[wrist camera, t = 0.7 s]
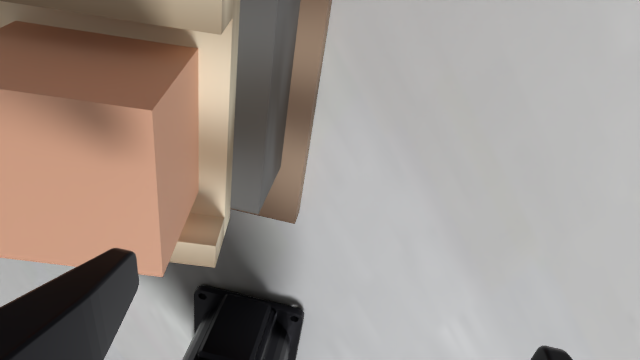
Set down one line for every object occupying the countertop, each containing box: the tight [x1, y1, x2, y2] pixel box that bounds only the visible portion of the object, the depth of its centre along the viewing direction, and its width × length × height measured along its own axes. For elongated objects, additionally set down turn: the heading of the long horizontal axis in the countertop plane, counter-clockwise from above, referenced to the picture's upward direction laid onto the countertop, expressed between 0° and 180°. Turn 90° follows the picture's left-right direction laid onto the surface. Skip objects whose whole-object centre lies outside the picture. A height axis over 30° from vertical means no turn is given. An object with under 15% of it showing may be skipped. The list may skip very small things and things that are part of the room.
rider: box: [0, 21, 199, 277], centre depth 13 cm, size 5×5×4 cm
